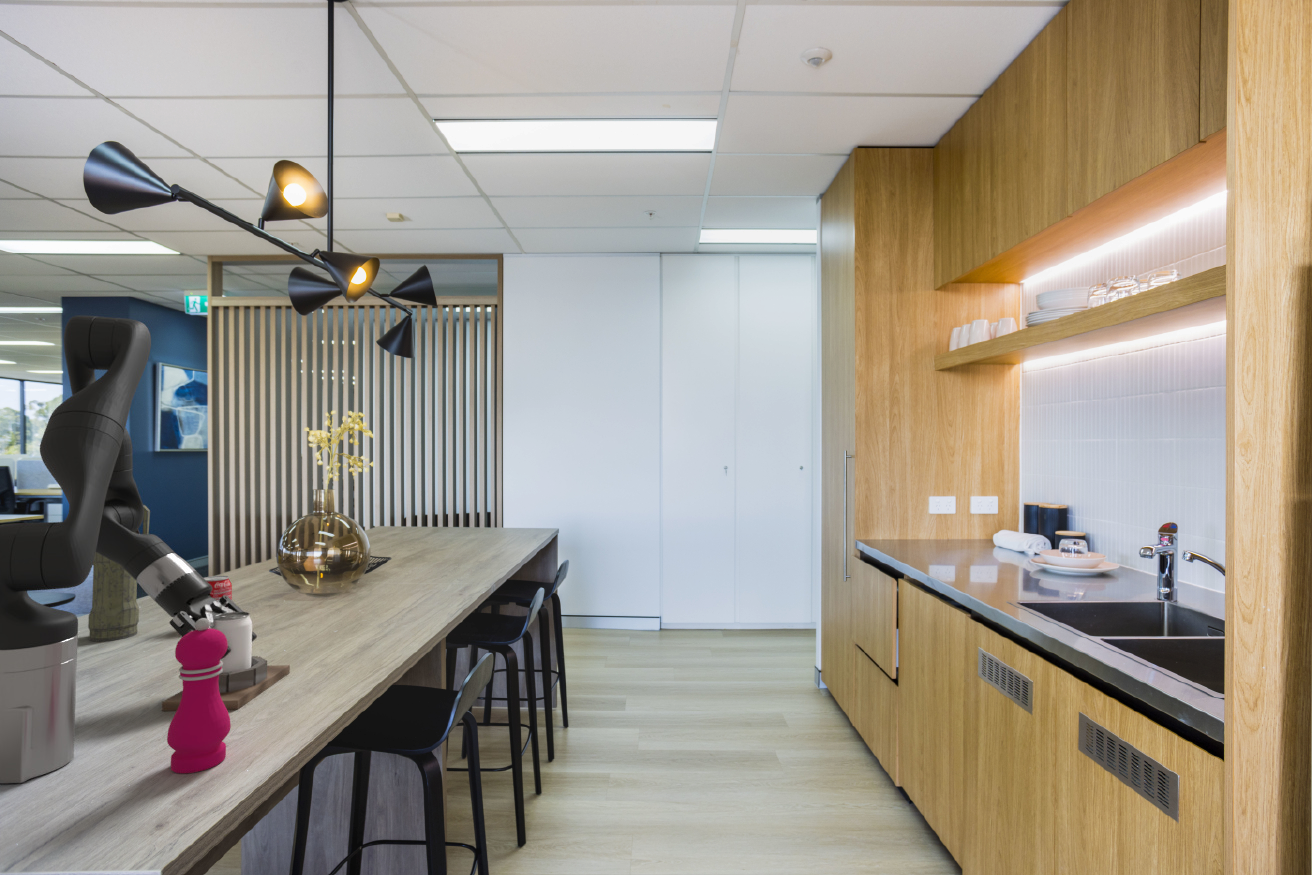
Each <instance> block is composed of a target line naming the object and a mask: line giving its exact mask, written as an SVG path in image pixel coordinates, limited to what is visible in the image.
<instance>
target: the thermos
mask: <svg viewBox="0 0 1312 875" xmlns="http://www.w3.org/2000/svg"><path fill="white" fill-rule="evenodd" d="M143 507H144V518H143V521H142V534H150V533H149V530H150V516H151V510H150V509H149V507H148V506H146V504H143ZM134 533H137V534H141V533H140V530H139V528H138V529H137V530H136V531H135V532H134ZM92 568H93V570H92V601H91V602H92V605H91V609H90V612H89V613H88V622H87V623H88V624H87V626H88V627H87V628H88V630H89V636H88V640H89V641H91V642H110V641H119V640H123V639H124V640H125V639H127V638H131V637H134V636H136V635H137V634H138V623H139V621H140V608H139V604H138V601H137V593H138V592H137V588H138V587H137V586H138V582H137V581H136V580H135V579H134V578H133V577H132V576H131V575H130V574H129V573H128V572H127V571H126V570H125V569H124V568H123V567H122V566H121V565H120V564H118V563H116V562H114V561H112V560H110V559H108V558H106V557H104V556H103V555H101V554H99V553H97V552H96V553H95V558H94V562H93V565H92Z"/></svg>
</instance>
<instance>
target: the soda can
mask: <svg viewBox="0 0 1312 875" xmlns="http://www.w3.org/2000/svg"><path fill="white" fill-rule="evenodd" d="M203 578H204V579H205V580H206V581H207V582H208V583H209V584H210V585H211V586H212V591H211V593H210V596H211V597H212V598H214V599H216V600H219V599H220V598H221V597H222V596H223V595H226V596H227V597H229V598H230V599H231V600H232V599H233V585H232V582H231V581H230V576H228V575H212V576H207V577H206V576H205V577H203ZM232 601H233V600H232Z"/></svg>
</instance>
